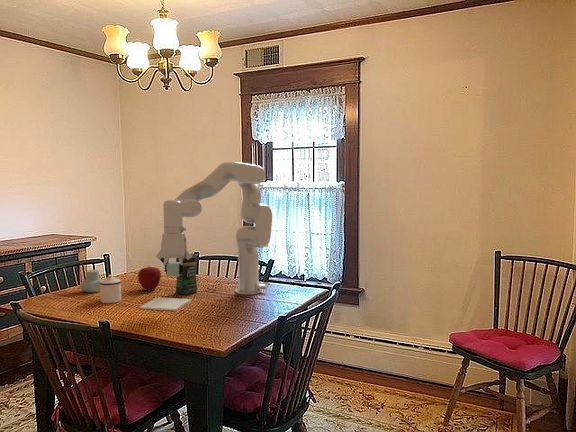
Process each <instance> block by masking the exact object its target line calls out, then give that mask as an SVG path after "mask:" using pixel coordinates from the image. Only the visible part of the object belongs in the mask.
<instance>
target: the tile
mask: <svg viewBox="0 0 576 432" xmlns="http://www.w3.org/2000/svg"><path fill="white" fill-rule="evenodd" d="M190 302H192V299H191V298H188V299H187V298H175V297H155V298H154V299H152V300H150V301H148V302H147V303H144V304H143V305H140V306H139V309H141V310H154V311H155V310H156V311H157V310H158V311H171V312H176V311H178V310H180V309H181V308H183V307H184V306H186V305H187V304H189V303H190Z"/></svg>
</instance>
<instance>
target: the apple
mask: <svg viewBox="0 0 576 432" xmlns="http://www.w3.org/2000/svg"><path fill="white" fill-rule="evenodd" d="M161 272H162V271H160V269H159V268H157V267H152V266H150V265H149V266H148V267H143V268H141V269H140V270H139V271H138V276H137V278H138V282H139V284H140V286H141V287H142V288H143V289H144V290H145V291H148V292H149V291H153V290H155V289H156V288H157V287H158V286H159V284H160V281H161V278H162V277H161V276H162V273H161Z"/></svg>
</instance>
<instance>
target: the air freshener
mask: <svg viewBox="0 0 576 432" xmlns="http://www.w3.org/2000/svg"><path fill="white" fill-rule="evenodd" d="M101 280H102V279H101V278H100V271H99V270H98V269H89V270H86V271H85V279H84V280H83V281H81V283H80V289H81V290H82V291H83V292H86V293H90V294H91V293H92V294H93V293H100V291H99V285H100V281H101Z"/></svg>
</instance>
